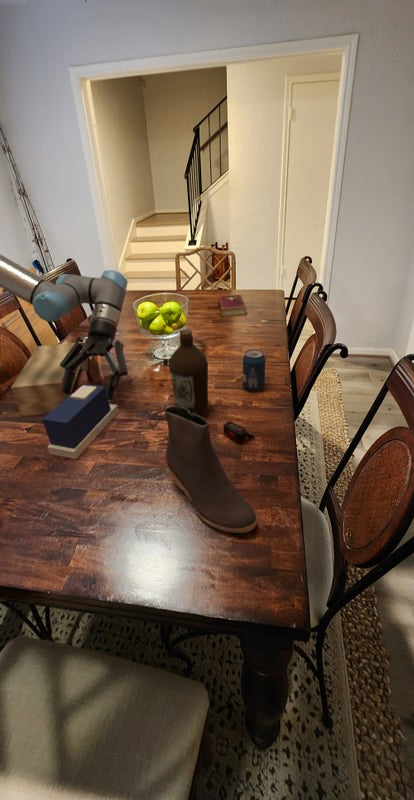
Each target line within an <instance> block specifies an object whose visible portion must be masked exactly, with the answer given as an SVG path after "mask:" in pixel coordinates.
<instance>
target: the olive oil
mask: <svg viewBox="0 0 414 800" xmlns="http://www.w3.org/2000/svg"><path fill="white" fill-rule="evenodd" d="M179 335H180V336H179V342H180V343H179V346H178V347H177V348H176V350H175V351H174V352H173V353H171V354H172V355H171V356H170V359H169V363H168V364H169V365H168V368H169V376H170V380H171V386H172V392H173V393H172V394H173V398H174V406H181V407H184V408H186V409H188V410H189V411H190V412H191V414H192V413H195V414H196V415H199V416H200V417H202V418H204V417H205V416H206V415H207V414H208V412H209V380H208V379H209V361H208V359H207V356H206V353H204V352H203V351H202V350H201V349H199V348H198V347H197V346H196V345H195V344H194V337H193V336H194V335H193V331H192V330H191V329H186V328H185V329H182V330H179Z"/></svg>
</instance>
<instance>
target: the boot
mask: <svg viewBox="0 0 414 800" xmlns="http://www.w3.org/2000/svg"><path fill="white" fill-rule="evenodd" d="M163 412H164V415H165V418H166V422H167V429H168V433H167V434H168V441H167V445H166V450H165V457H166V461H165V462H166V466H167V469H168V470H169V472H170V474H171V476H172V478H173V480H174V483H175V484H176V485H177V487H178V488H179V489H181V491H182V492H183V493H184V494H185V495H186V496H187V497H188V499H189V500H190V501H191V503H192V505H193V508H194V509H195V512H196V513H197V515H198V516H199V518H200V519H201V520H202V521H203V522H204V523H206V524H207V525H209V526H211V527H213V528H215V529H217V530H220V531H223V532H227V533H233V534H244V533H248V532H251V531H253V530H254V529H255V527H256V526H257V524H258V523H257V522H258V517H257V514H256V512H255V510H254V508H253V506H252V505H251V503H249V502H248V501H247V500H246V499H245V498H244V496H243V495H241V493H240V491H238V489H237V488H236V486H235V485H234V483H233V482H232V481H231V480H230V478H229V477H228V474H227V472H226V471H225V468H224V467H223V464H222V463H221V460H220V458H219V456H218V454H217V452H216V450H215V447H214V445H213V444H212V441H211V440H212V439H211V434H210V425H209V422H208V420H207V419H205V418H204V417H200V416H199V415H196V414H195V413H192V414H191V412H190V411H189V410H188V409H186V408H184V407H181V406H175V405H171V406H168V407H166V408H164V409H163Z"/></svg>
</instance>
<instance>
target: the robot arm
mask: <svg viewBox="0 0 414 800" xmlns="http://www.w3.org/2000/svg"><path fill="white" fill-rule="evenodd" d="M0 288H1V289H3V290H4V291H7V292H8V293H10V294H12V295H14V296H15V297H17V298H19V299H20V300H23V301H24V302H26V303H28V304H30V305H31V306H32V308H33V311H34V312H35V314H37V316H38V317H39V319H41V320H43V321H45V322H48V323H49V322H50V323H51V322H52V323H53V322H56V321H59V320H60V319H63V318H65V317H66V316H67V315H68V314H69V313H71V312H72V311H74V310H75V309H77V308H79V307H80V306H81V305H83V304H89V305H94V307H93V310H92V314H91V318H90V319H91V321H89V322H90V323H89V326H88V330H87V337H88V338H87V339H82V338H83V337H81V336H78V337H76V339H75V342H74V343H75V344H74V346H73V347H72V348H71V350H70V351H69V352H68V354H67V355H66V356H65V358H64V359H63V360H62V362H61V363H60V366H61V367H63V368H64V369H65V372H64V376H63V381H64V384H63V388H62V392H63V393H65V394H68V395H70V391H71V387H72V383H73V379H74V375H75V372H74V371H73V370H75V369H76V368H77V367H78V366H79V365H80V364H81V363H82V362H83V361H85V360H86V359H87V358H88V357H91V356H92V355H93V356H101V358H102V357H104V358H105V360H106V361H107V364H108V365H109V368H110V369H111V373H110V374H109V378H108V382H107V387H106V395H105V398H107V399H108V400H109V401H113V399H114V394H115V391H116V389H118V387H119V384H120V380H121V377H123V376H128V374H129V372H128V367H127V363H126V358H125V354H124V343H123V342H122V341H120V340H119V339H117V340H115V339H116V337H117V336H116V335H117V331H118V327H119V323H120V319H121V313H122V309H123V305H124V301H125V299H126V295H127V288H128V279H127V277H126V276H125V274H123V273H121V272H119V271H117V270H113V269H108V270H104V271H103V272H102V274H101V276H100V277H91V276H84V275H77V274H74V273H69V274H65V273H63V274H60V275H59V276H58V277H57V279H56V281H55V284H54V283H52V282H50V281H49V280H47V279H45V278H43V277H41V276H40V275H38V274H36V273H34V272H33V271H31V270H29V269H27V268H25V267H23V266H22V265H20V264H18V263H17V262H15V261H13V260H12V259H9V258H8V257H6V256H5V255H3V254H1V253H0ZM85 344H86V346H85ZM83 346H85V347H84V348H83ZM82 348H83V349H82ZM112 349H114V351H115V356H116V361H115V358H114V356H113V354H112V352H111V350H112ZM81 350H82V351H81ZM80 351H81V352H80ZM87 351H89V352H87ZM116 362H117V363H116Z"/></svg>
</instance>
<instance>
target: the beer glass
mask: <svg viewBox="0 0 414 800" xmlns="http://www.w3.org/2000/svg"><path fill="white" fill-rule="evenodd" d="M81 338H82V339H87V338H88V336H87V337H86V336H85V337H81ZM85 346H86V344H85ZM85 346H83V348H84V347H85ZM83 348H82V349H83ZM81 351H82V350H81ZM81 351H80V352H81ZM87 352H89V351H87ZM82 365H83V367H84V368H83V370H84V372H85V375H86V384H90V385H98V386H99V385H100V384H103V383H104V382H105V381H106V377H105V375H104V372H103V370H102V356H93V355H92V356H91V357H88V358H87V359H86V360H85V361H83V362H82Z"/></svg>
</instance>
